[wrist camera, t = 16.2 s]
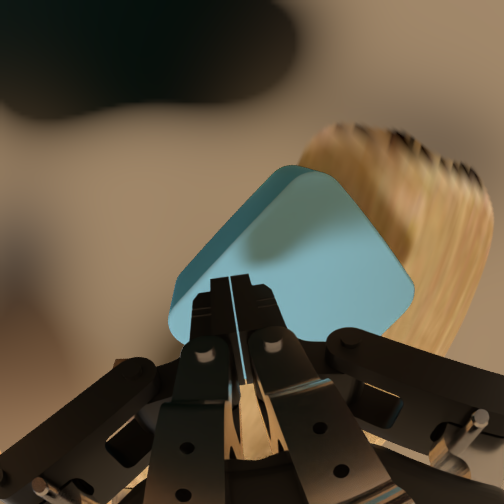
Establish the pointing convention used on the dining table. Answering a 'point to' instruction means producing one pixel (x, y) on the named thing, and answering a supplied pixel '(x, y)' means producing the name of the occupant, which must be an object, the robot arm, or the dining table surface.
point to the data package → (302, 260)
